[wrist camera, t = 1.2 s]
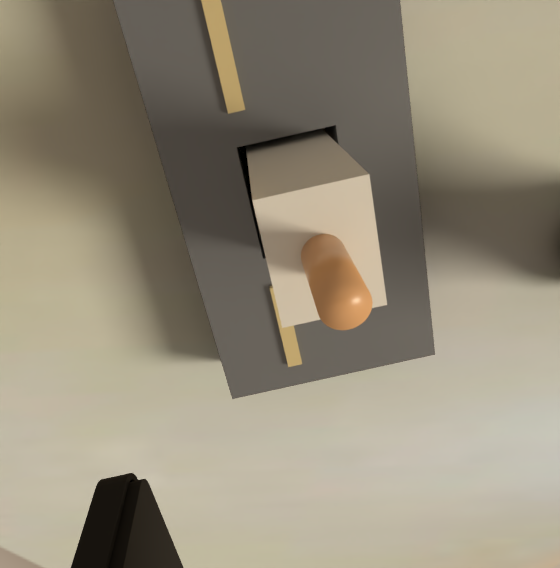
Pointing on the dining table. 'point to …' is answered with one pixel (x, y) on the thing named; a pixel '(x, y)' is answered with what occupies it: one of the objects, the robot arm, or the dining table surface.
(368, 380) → the dining table surface
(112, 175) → the dining table surface
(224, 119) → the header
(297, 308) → the plug
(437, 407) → the dining table surface
